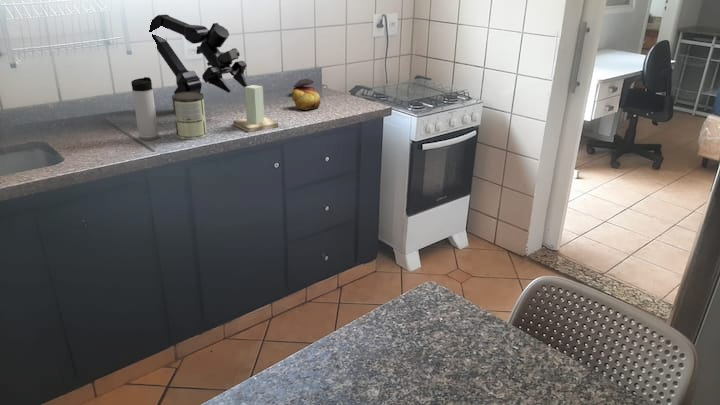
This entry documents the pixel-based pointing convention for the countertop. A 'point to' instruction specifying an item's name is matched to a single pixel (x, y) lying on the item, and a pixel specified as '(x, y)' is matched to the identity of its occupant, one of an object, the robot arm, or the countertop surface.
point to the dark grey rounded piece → (304, 85)
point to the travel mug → (145, 109)
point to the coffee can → (189, 115)
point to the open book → (255, 127)
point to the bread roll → (306, 99)
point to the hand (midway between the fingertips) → (238, 89)
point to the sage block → (254, 104)
